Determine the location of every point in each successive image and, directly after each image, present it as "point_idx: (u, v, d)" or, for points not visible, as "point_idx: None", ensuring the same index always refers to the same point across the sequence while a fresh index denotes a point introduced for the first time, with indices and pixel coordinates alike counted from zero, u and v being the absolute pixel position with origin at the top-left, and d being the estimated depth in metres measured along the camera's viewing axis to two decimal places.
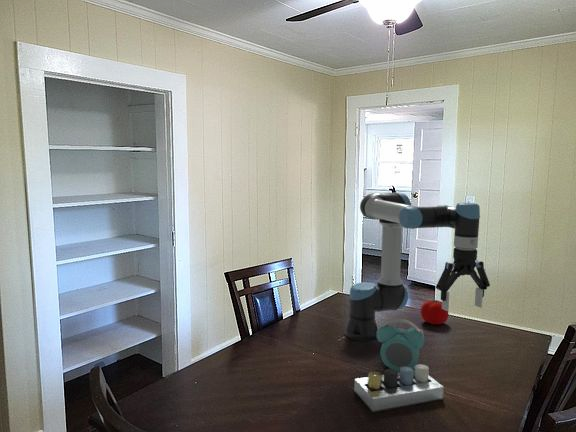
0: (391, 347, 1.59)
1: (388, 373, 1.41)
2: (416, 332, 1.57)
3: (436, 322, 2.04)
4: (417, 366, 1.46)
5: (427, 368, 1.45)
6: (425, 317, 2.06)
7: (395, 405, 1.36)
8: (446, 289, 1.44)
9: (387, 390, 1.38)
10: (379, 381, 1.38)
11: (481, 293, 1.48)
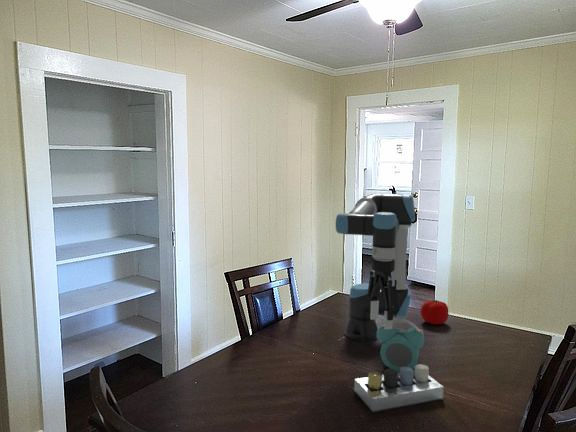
0: (391, 347, 1.59)
1: (388, 373, 1.41)
2: (416, 332, 1.57)
3: (436, 322, 2.04)
4: (417, 366, 1.46)
5: (427, 368, 1.45)
6: (425, 317, 2.06)
7: (395, 405, 1.36)
8: (370, 297, 1.49)
9: (387, 390, 1.38)
10: (379, 381, 1.38)
11: (385, 314, 1.40)
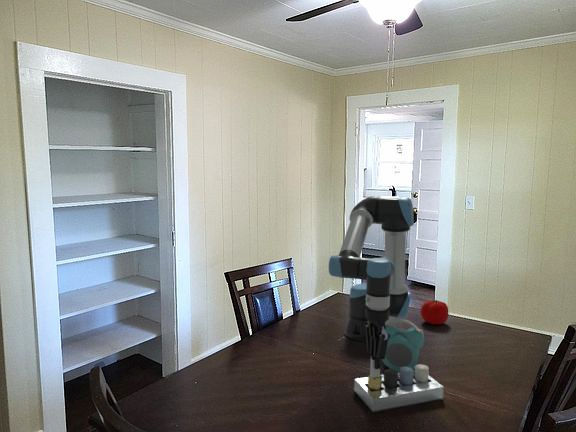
0: (391, 347, 1.59)
1: (388, 373, 1.41)
2: (416, 332, 1.57)
3: (436, 322, 2.04)
4: (417, 366, 1.46)
5: (427, 368, 1.45)
6: (425, 317, 2.06)
7: (395, 405, 1.36)
8: (370, 353, 1.40)
9: (387, 390, 1.38)
10: (379, 383, 1.38)
11: (372, 362, 1.39)
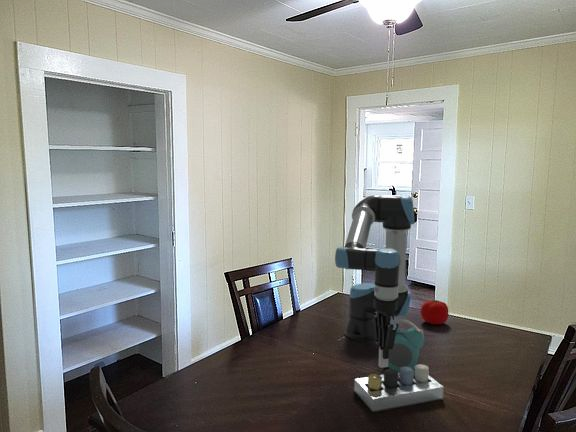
0: None
1: (388, 373, 1.41)
2: (416, 332, 1.57)
3: (436, 322, 2.04)
4: (417, 366, 1.46)
5: (427, 368, 1.45)
6: (425, 317, 2.06)
7: (395, 405, 1.36)
8: (378, 343, 1.41)
9: (387, 390, 1.38)
10: (379, 384, 1.38)
11: (380, 352, 1.39)
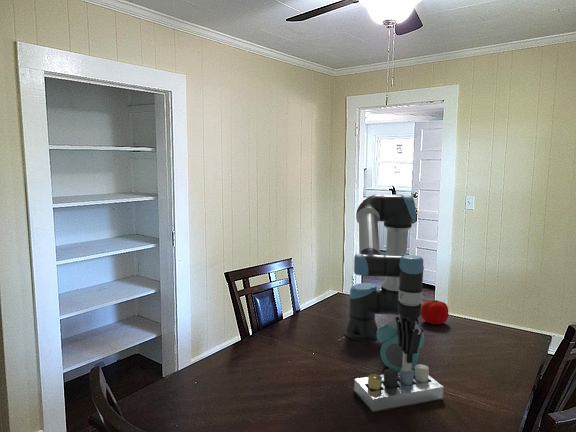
0: (391, 347, 1.59)
1: (388, 373, 1.41)
2: None
3: (436, 322, 2.04)
4: (417, 366, 1.46)
5: (427, 368, 1.45)
6: (425, 317, 2.06)
7: (395, 405, 1.36)
8: (402, 347, 1.43)
9: (387, 390, 1.38)
10: (379, 384, 1.38)
11: (404, 356, 1.42)
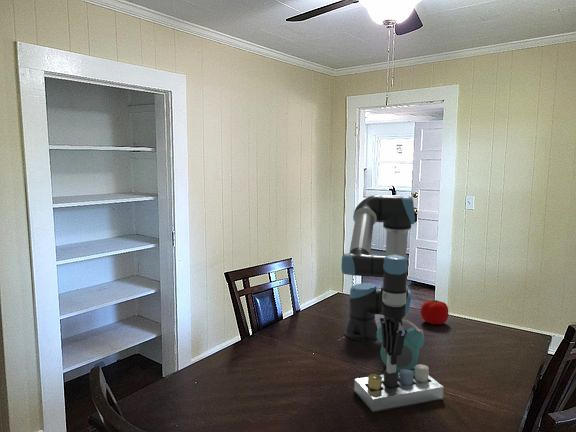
0: None
1: None
2: (416, 332, 1.57)
3: (436, 322, 2.04)
4: (417, 366, 1.46)
5: (427, 368, 1.45)
6: (425, 317, 2.06)
7: (395, 405, 1.36)
8: (386, 349, 1.42)
9: (387, 390, 1.38)
10: (379, 384, 1.38)
11: (388, 358, 1.40)
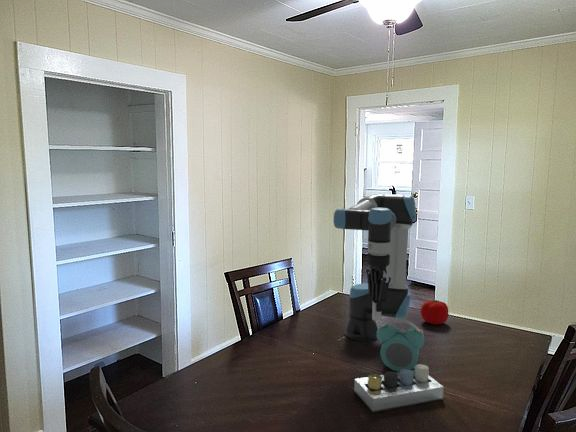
0: (391, 347, 1.59)
1: (388, 376, 1.41)
2: (416, 332, 1.57)
3: (436, 322, 2.04)
4: (417, 366, 1.46)
5: (427, 368, 1.45)
6: (425, 317, 2.06)
7: (395, 405, 1.36)
8: (372, 297, 1.49)
9: (387, 390, 1.38)
10: (379, 384, 1.38)
11: (374, 306, 1.47)
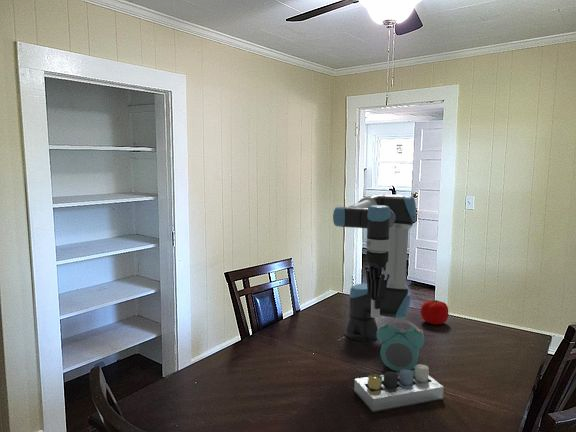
0: (391, 347, 1.59)
1: (388, 376, 1.41)
2: (416, 332, 1.57)
3: (436, 322, 2.04)
4: (417, 366, 1.46)
5: (427, 368, 1.45)
6: (425, 317, 2.06)
7: (395, 405, 1.36)
8: (370, 294, 1.49)
9: (387, 390, 1.38)
10: (379, 384, 1.38)
11: (372, 303, 1.48)
